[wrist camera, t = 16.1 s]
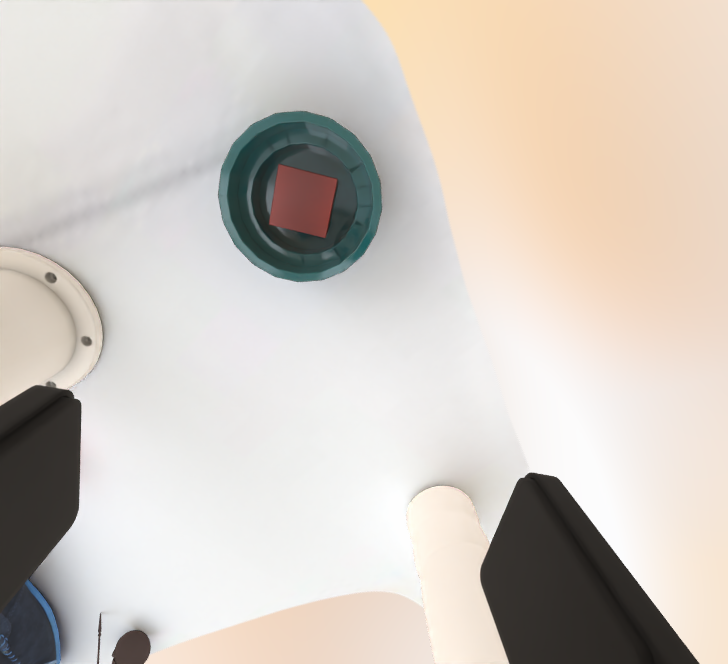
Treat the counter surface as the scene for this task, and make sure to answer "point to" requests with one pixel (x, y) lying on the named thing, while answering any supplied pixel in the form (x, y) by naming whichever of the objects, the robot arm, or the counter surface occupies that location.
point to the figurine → (129, 648)
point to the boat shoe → (28, 630)
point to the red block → (303, 201)
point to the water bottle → (453, 577)
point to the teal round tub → (310, 153)
